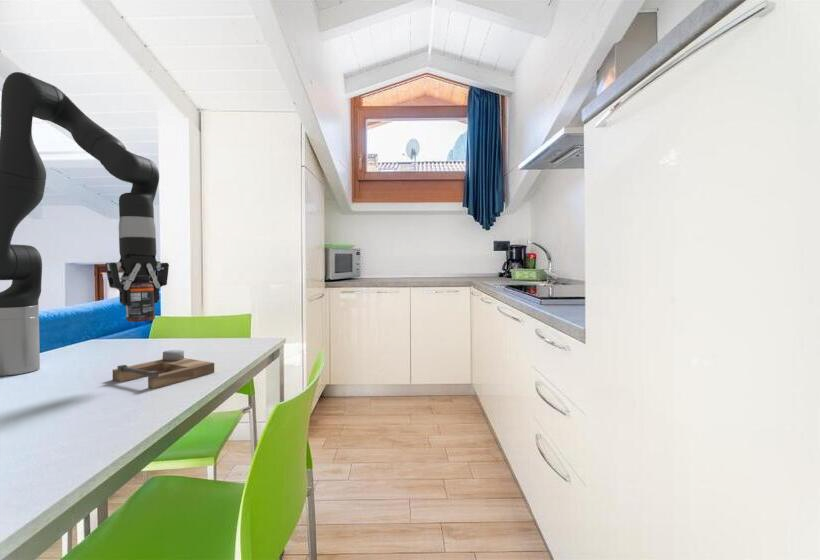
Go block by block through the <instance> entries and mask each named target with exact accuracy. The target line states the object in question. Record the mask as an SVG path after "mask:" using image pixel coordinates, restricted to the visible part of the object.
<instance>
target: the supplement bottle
mask: <svg viewBox="0 0 820 560" xmlns="http://www.w3.org/2000/svg"><path fill="white" fill-rule="evenodd" d="M128 290H130V306H125V318H126V321H127V322H128V323H129V322H130V323H138V322H139V323H140V322H141V323H142V322H151V321H153V320H155V318H156V310H155V309H156V308H155V304H156V303H154V286H153V285H152V284H151V283H150V282H149V276H148V275H138V276H136V277H135V279H134V281H133V282H132V283H131V285H130V287H129V289H128Z"/></svg>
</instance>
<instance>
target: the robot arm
mask: <svg viewBox="0 0 820 560" xmlns="http://www.w3.org/2000/svg"><path fill="white" fill-rule="evenodd" d="M0 97H1V101H0V105H1V106H0V281H11V285H10V286H9V287H7V288H6V289H5V290H2V291H0V376H13V375H21V374H27V373H30V372H35V371H37V370H39V369H41V362H40V361H41V353H40V351H41V350H40V349H41V348H40V315H39V314H40V312H39V311H40V310H39V299H40V296H41V293H42V275H43V259H42V255H41V253H40V251H39V250H38V249H37V247H34V246H33V245H28V244H27V245H26V244H13V243H12V239H13V236H14V233H15V231H16V229H17V227H18V226H19V224H21V222H22V221H23V220H24V219H26V217H27V216H28V215H29V214H31V212H33V211H34V210H35V209H36V207H38V205H39V204H40V203H41V202H42V200H43V197H44V195H45V187H46V184H47V183H46V181H47V170H46V166H45V164H44V162H43V160H42V158H41V155H40V154H39V152H38V150H37V148H36V146H35V143H34V139H33V134H32V129H33V118H36V119H39V120H41V121H49V122H51V123H53V124H55V125H57V126H59V127H61V128H62V129H64V130H65V131H67V132H69V133H70V134H71V137H72V138H73V140H74V142H75V143H76V144H77V145H78V146H79V147H80V148H81V149H82V150H83V151H84V152H86V153H87V154H88V155H90V156H91V157H93V158H94V159H96V160H98V161H99V163H100V164H101V166H103V168H104V170H106V171H107V172H108V173H109V174H110V175H111V176H112V177H114V178H116V179H118V180H120V181H122V182H125V183H130V184H132V185H131V190H130V191H129V192H124V193H122V194H120V196H119V198H118V210H119V211H118V214H119V218H118V219H119V221H118V247H119V248H118V249H119V255H120V257H119V261H118V262H106V263H105V271H106V276H107V281H108V286H109V288H111V289H116V290H118V291H119V295H118V296H119V303H120V304H121V306H122V307H126V306H130V290H128V289H129V287H130V285H131V283H132V282H133V281H134V279H135V277H136V276H138V275H148V276H149V282H150V283H151V284H152V285H153V286H154V304H158V302H159V301H160V288H162V287H163V286H166V285H168V279H169V268H170V264H169V263H168V262H158V261H157V258H156V256H157V234H156V233H157V231H156V223H155V214H154V211H155V209H154V200H155V199H156V198H155V197H156V194H157V190H158V186H159V182H160V173H159V172H160V171H159V169H158V167H157V164H156V163H155V162H154V161H153V160H151V159H149V158H147V157H144V156H141V155H139V154H136V153H133V152H131V151H130V150H127V148H126V146H125V144H124V143H123V142H122V141H121V140H119V138H117V137H116V136H114V135H113V134H112V133H110V132H109V131H107V130H106V129H105V128H103V127H102V126H101V125H99V124H97V123H96V122H95V121H93V120H92V118H90V117H89V116H88V115H86V114H85V113H84V112H83V111H82V110H81V109H80V108H79V107H78V106H77V105H76V104H75V103H74V102H73V101H72V100H71V99H70V98H69V97H68V96H67V95H66V93H64V92H63V91H62V90H61V89H59V88H58V87H57V86H55V85H53V84H51V83H49V82H46V81H44V80H42V79H39V78H36V77H34V76H32V75H29V74H28V73H24V72H19V71H14V72H11V73H10V74H8V75H7V77H6V78H5V80H4V82H3V84H2V89H1V96H0ZM11 243H12V244H11ZM120 268H121V270H122V271H123V272H122V275H121V277H120V274H119V271H120ZM155 269H156V270H157V275H156V272H155Z"/></svg>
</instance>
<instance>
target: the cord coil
mask: <svg viewBox="0 0 820 560" xmlns="http://www.w3.org/2000/svg"><path fill="white" fill-rule="evenodd" d="M184 358H185V351H184V350H183V349H182V350H181V349H174V350H173V349H172V350H171V349H170V350H164V351H163V352H162V359H163V360H164V361H177V360H182V359H184Z"/></svg>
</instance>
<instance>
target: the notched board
mask: <svg viewBox="0 0 820 560" xmlns="http://www.w3.org/2000/svg"><path fill="white" fill-rule="evenodd" d="M111 373H112V381H117V382H120V383H121V382H122V383H124V382H127V381H131V380H135V379H140V378H145V377H147V388H148V389H153V390H154V389H155V390H156V389H157V388H162V387H165V386H169V385H172V384H176V383H181V382H184V381H187V380H191V379H194V378H198V377H201V376H205V375H210V374H212V373H213V374H214V373H215V362H211V361H206V360H199V359H193V358H187V357H184V359H182V360H177V361H164V360H163V358H161V359H157V360H152V361H146V362H143V363H139V364H133V365H129V366H128V365H127V364H121V365H117V368H114V369H112V372H111Z"/></svg>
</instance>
